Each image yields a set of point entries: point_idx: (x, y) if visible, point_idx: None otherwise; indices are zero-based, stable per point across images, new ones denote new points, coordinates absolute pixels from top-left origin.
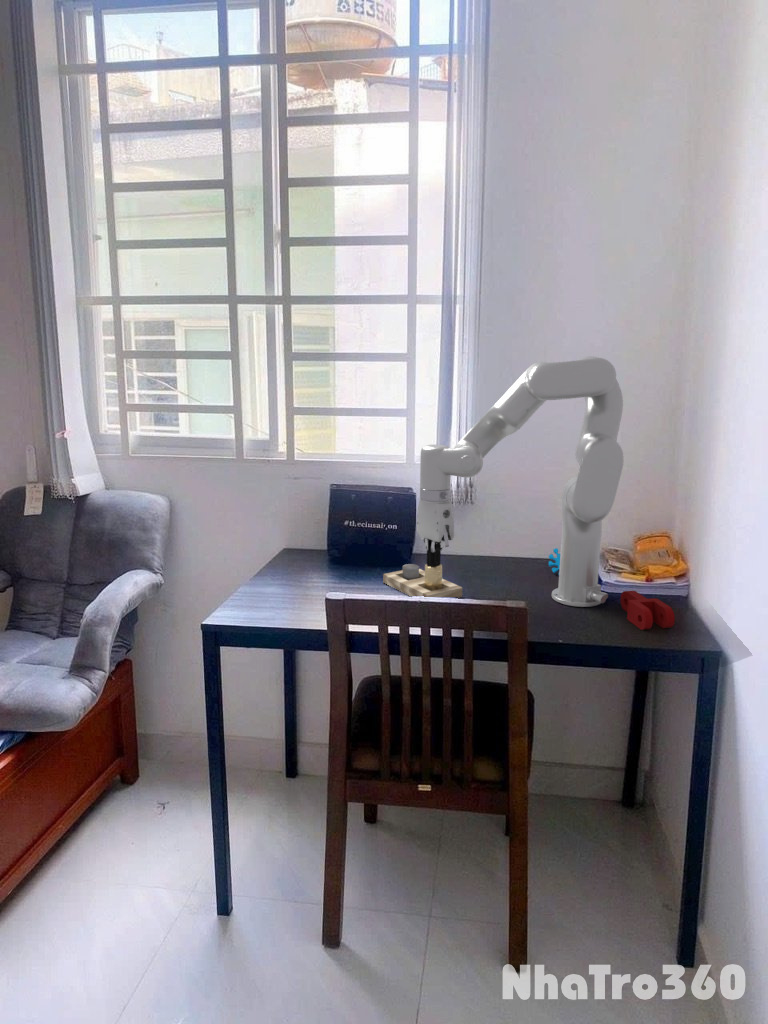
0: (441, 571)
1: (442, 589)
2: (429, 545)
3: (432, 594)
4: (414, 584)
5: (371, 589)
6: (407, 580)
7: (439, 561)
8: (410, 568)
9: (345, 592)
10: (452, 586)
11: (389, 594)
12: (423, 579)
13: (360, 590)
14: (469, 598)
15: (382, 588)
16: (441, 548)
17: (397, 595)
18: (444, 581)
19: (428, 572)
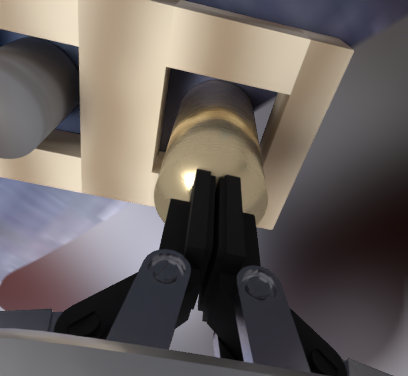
0: (263, 171)
1: (280, 146)
2: (170, 342)
3: (279, 211)
4: (142, 176)
5: (23, 214)
6: (79, 158)
7: (254, 218)
8: (23, 142)
9: (13, 269)
10: (298, 78)
11: (100, 211)
12: (110, 97)
13: (16, 238)
14: (382, 29)
15: (32, 186)
16: (297, 323)
17: (125, 202)
18: (210, 39)
19: None
